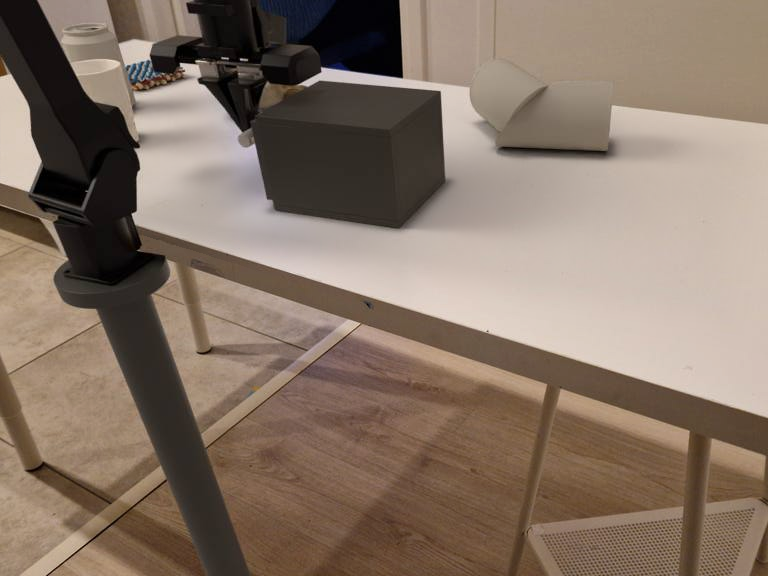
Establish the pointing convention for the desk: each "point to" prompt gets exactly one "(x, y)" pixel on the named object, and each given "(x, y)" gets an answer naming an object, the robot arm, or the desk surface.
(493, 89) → the bent grey cylinder
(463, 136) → the desk surface
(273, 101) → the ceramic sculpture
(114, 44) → the can
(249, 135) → the drawer
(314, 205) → the matte charcoal box
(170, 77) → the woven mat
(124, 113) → the white cup
